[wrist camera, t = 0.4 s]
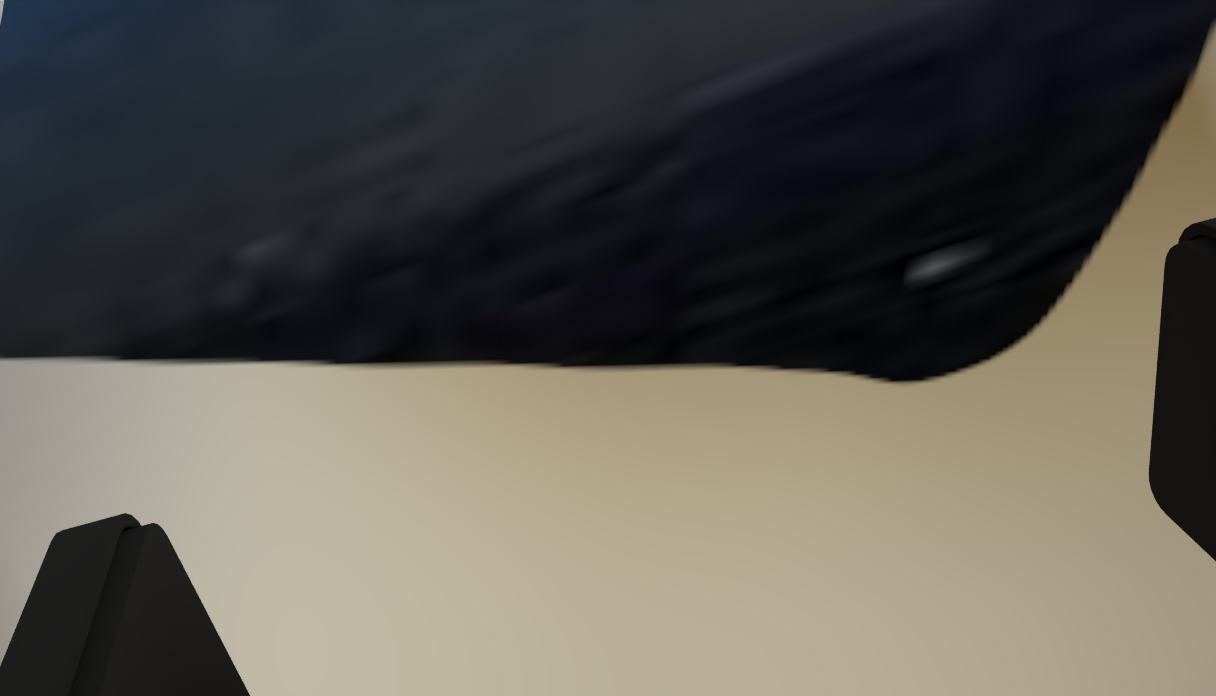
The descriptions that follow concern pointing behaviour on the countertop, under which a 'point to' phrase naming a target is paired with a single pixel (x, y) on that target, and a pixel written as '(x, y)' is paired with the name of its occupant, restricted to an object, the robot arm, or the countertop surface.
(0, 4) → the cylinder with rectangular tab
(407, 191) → the countertop surface
